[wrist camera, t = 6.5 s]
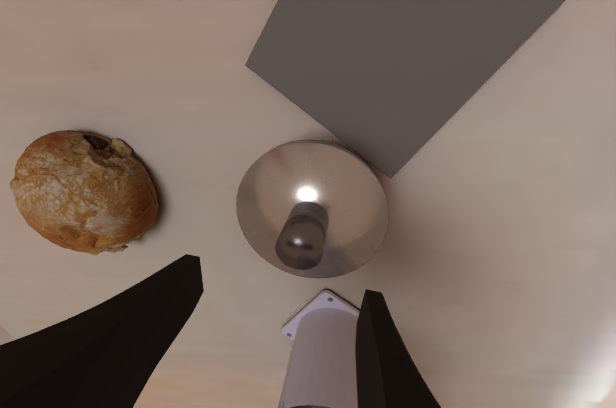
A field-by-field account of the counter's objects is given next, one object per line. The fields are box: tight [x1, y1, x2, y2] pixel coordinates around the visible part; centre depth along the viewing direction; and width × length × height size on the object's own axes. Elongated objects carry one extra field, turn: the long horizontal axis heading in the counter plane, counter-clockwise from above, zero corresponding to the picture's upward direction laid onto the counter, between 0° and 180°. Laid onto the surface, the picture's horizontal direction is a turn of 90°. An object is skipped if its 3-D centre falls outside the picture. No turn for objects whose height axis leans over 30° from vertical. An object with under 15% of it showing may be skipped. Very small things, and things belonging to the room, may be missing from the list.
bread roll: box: [10, 130, 159, 255], centre depth 22 cm, size 10×10×8 cm
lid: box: [236, 140, 388, 278], centre depth 15 cm, size 9×9×4 cm
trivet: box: [245, 0, 565, 178], centre depth 15 cm, size 12×12×1 cm
